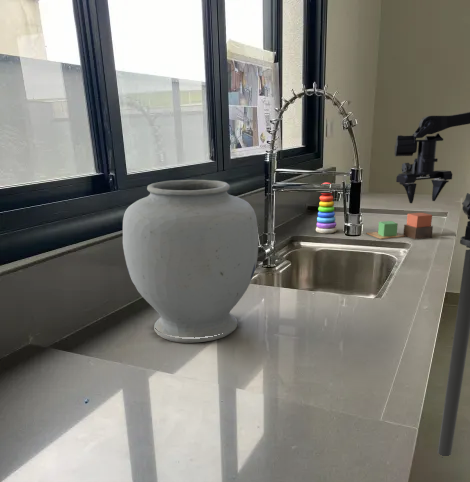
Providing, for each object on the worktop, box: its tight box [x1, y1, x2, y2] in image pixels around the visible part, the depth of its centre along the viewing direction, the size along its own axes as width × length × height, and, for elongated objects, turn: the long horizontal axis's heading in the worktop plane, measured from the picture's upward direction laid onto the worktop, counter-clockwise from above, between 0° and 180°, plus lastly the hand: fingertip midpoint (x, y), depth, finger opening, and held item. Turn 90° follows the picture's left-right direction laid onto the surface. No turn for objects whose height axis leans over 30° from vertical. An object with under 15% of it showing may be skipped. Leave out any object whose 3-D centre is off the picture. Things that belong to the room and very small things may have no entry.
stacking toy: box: [315, 182, 338, 235], centre depth 189 cm, size 8×8×19 cm
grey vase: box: [122, 179, 259, 344], centre depth 101 cm, size 27×27×30 cm
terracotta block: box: [406, 212, 433, 228], centre depth 178 cm, size 6×6×4 cm
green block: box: [377, 220, 399, 237], centre depth 182 cm, size 5×5×4 cm
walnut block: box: [402, 223, 434, 240], centre depth 180 cm, size 7×7×4 cm
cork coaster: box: [366, 231, 406, 240], centre depth 184 cm, size 10×10×1 cm
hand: (422, 202), depth 174 cm, fingers open, 9 cm apart
